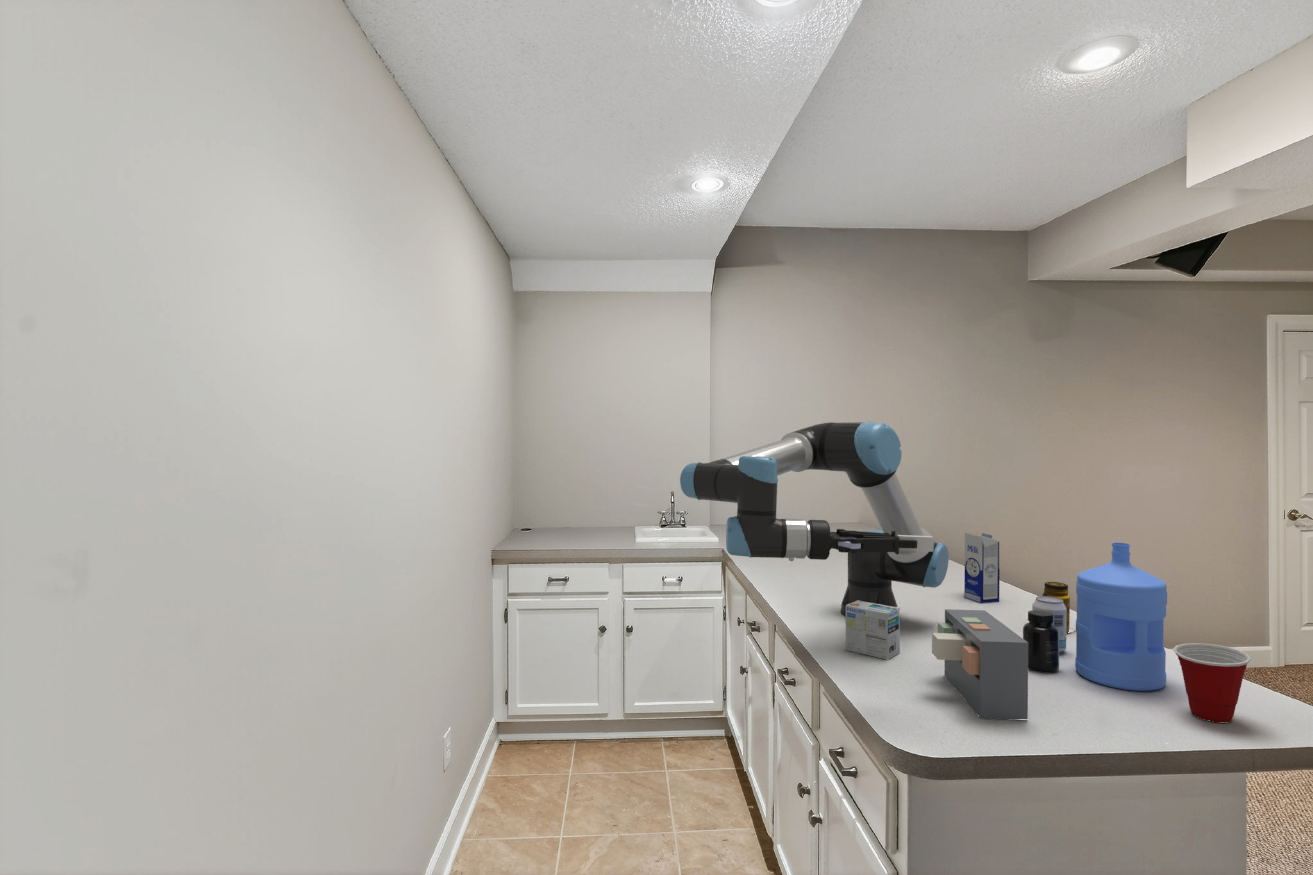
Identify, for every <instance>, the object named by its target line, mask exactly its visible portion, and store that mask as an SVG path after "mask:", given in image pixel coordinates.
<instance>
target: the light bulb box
mask: <svg viewBox="0 0 1313 875" xmlns="http://www.w3.org/2000/svg"><path fill="white" fill-rule="evenodd" d="M900 610H901V609H900V607H892V606H886V605H881V604H875V603H869V602H863V601H859V600H857V601H855V602H852V603H850V604H847V605H846V616H845V651H849V652H855V653H858V654H861V653H862V654H863V655H866V654H867V655H866V656H871V657H874V658H879V659H882V660H887V661H888V660H890V659H892V658H894V657H895V656H897V655H898V654H900V653H901V644H900V643H901V642H900V641H901V640H900V639H901V631H900V630H901V628H900V620H901V619H900V616H901V615H900V614H901V613H900V612H901V611H900ZM862 654H861V655H862Z"/></svg>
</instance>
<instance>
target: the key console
mask: <svg viewBox="0 0 1313 875" xmlns="http://www.w3.org/2000/svg"><path fill="white" fill-rule="evenodd" d="M944 623H953V634H965V635H966V646H978V647H979V648H980V670H979V675H969V674H968V673H967V672H966V671H965V670H964V668H963V667H962V660H944V673H943V674H944V675H943V676H944V677H945V676H946V677H945V678H946V679H947V680H948V682H949V683H950V684H951V685H952V686H953V687H954V689H955V688H956V689H955V690H956V691H957V693H959V695H960V694H961V695H962V696H961V695H960V696H961V697H962V699H964V701H965V702H966V703H967V704H968V705H969V707H970V708H971V707H972V708H973V709H972V708H971V709H972V710H973V711H974V712H975V713H977V714H976V715H977V716H978V715H979V716H978V717H979V719H981V718H983V719H984V718H985V719H984V720H1001V719H1028V718H1029V716H1028V715H1029V713H1028V712H1029V708H1028V707H1029V669H1028V642H1027V641H1025V640H1024V639H1023V637H1022V636H1020V635H1018V634H1017V632H1014V631H1013V630H1012V629H1011V628H1009V627H1007V626H1006V625H1005V624H1003V622H1001V621H1000V620H998V619H997V618H996V617H994V616H993V615H992V614H990V613H989V612H987V611H986V610H980V609H979V610H978V609H977V610H976V609H950V608H949V609H948V608H947V609H944ZM991 718H992V719H991Z"/></svg>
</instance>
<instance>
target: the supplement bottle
mask: <svg viewBox="0 0 1313 875" xmlns="http://www.w3.org/2000/svg"><path fill="white" fill-rule="evenodd" d="M1027 621H1028V622H1027V623H1025V624H1024V625H1023V627H1022V638H1023V639H1024V640H1025V641H1027V642H1028V670H1030V671H1033V672H1037V673H1047V674H1051V673H1057V672H1058V671H1059V669H1060V653H1059V631H1058V629H1057V628H1056V627H1055V626H1053V625H1052V624H1053V623H1054V620H1053V614H1052V613H1050V612H1046V611H1039V610H1028V611H1027Z"/></svg>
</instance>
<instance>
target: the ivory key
mask: <svg viewBox="0 0 1313 875" xmlns="http://www.w3.org/2000/svg"><path fill="white" fill-rule="evenodd" d="M962 646H966V635H965V634H949V633H938V632H931V653H932V655H933V656H934V657H935V658H936V660H939V661H940V660H941V661H945V660H962Z"/></svg>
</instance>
